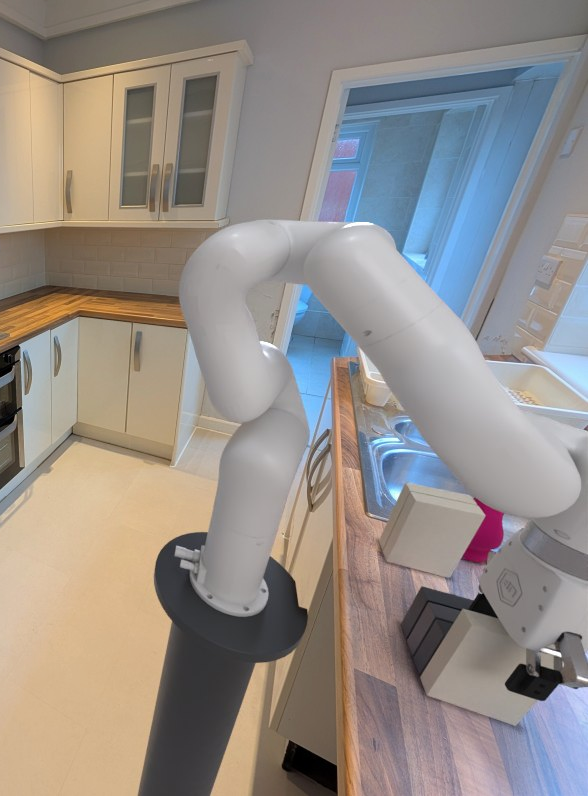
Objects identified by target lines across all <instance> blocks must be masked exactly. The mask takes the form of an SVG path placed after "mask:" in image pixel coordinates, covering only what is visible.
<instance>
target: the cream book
mask: <svg viewBox="0 0 588 796" xmlns="http://www.w3.org/2000/svg"><path fill="white" fill-rule="evenodd" d="M547 647H548V648H551V649H555V645H554V644H552V645H549V646H547ZM519 664H525V665H526V648H523V647H521V646H519V645H518V644H517V643H516V642H515V641H514V640H513V639H512V638H511V637H510V635H509V634H508V632H507V631H506V629H505V628H504V626H503V625H502V623H501V621H500V620H499V619H498V618H494V617H491V616H487V615H484V614H480V613H477V612H473V611H469V610H466V609H462V611H461V612H460V614H459V615H458V617H457V619H456V620H455V622H454V624H453V625H452V627H451V628H450V630H449V632H448V633H447V635H446V636H445V638H444V640H443V641H442V643H441V644H440V646H439V648H438V649H437V651H436V652H435V654H434V656H433V657H432V659H431V661H430V662H429V664H428V665H427V667H426V669H425V670H424V672H423V673H422V675H420V676H419V679H420V681H421V684H422V687H423V689H424V692H425V695H426V696H427V697H430V698H433V699H436V700H438V701H442V702H445V703H448V704H451V705H452V706H456V707H459V708H462V709H465V710H468V711H471V712H473V713H476V714H480V715H482V716H486V717H488V718H491V719H494V720H497V721H499V722H502V723H505V724H508V725H511V726H514V727H517V726H518V724H519V723H520V722H521V721H522V719H523V718H525V716H527V714H528V713H529V711H530V710H531V709H532V707H534V705H535V704H536V703H537V702H538V700H536V699H533V698H529V697H526V696H523V695H520V694H517V693H514V692H511V691H509V690H507V688H506V686H505V682H506V681H507V679H508V678H509V677H510V675H511V674H512V673H513V671H514V670H515V669H516V667H517V666H518V665H519ZM541 666H543V667H546V668H550V669H553V670H554V656H552V655H549V654H545V653H542V652H541Z"/></svg>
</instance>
